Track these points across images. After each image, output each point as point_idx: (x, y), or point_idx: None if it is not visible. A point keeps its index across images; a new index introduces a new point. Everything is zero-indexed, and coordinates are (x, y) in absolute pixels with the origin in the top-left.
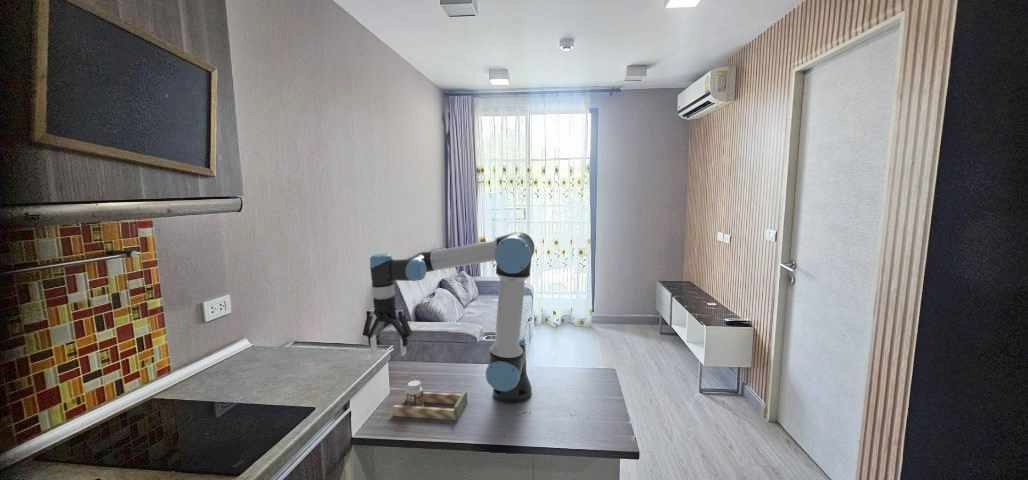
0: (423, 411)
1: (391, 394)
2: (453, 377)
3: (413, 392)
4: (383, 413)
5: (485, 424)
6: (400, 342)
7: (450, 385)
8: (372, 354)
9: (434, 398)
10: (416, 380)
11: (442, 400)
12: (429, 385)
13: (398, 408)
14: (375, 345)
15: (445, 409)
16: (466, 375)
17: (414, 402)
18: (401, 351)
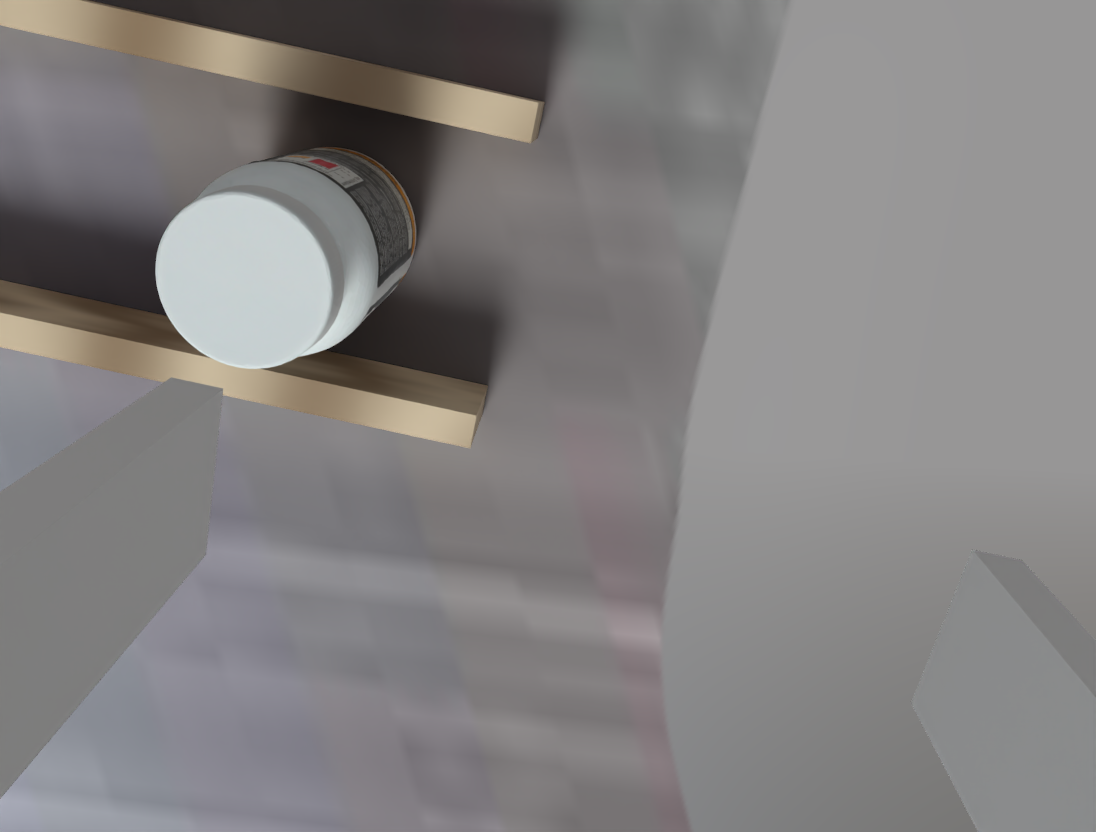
0: (170, 19)
1: (671, 525)
2: (121, 759)
3: (257, 174)
4: (666, 162)
5: None
6: (3, 547)
7: None
8: (1001, 557)
9: (152, 327)
10: (235, 361)
11: (74, 305)
12: (320, 645)
13: (468, 86)
14: (1003, 790)
15: None
16: None
17: (292, 154)
18: (158, 427)
